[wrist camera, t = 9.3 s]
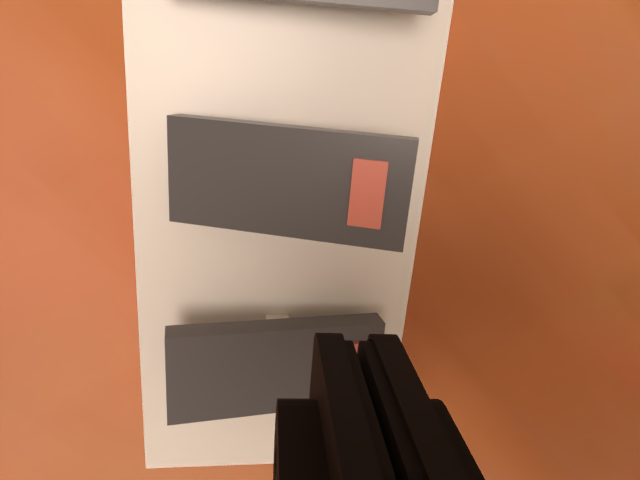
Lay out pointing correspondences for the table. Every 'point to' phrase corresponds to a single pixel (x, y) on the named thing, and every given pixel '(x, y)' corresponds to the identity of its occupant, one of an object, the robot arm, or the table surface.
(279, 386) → the rocker
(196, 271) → the rocker switch panel
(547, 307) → the table surface
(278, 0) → the rocker
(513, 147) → the table surface
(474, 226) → the table surface
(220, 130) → the rocker
